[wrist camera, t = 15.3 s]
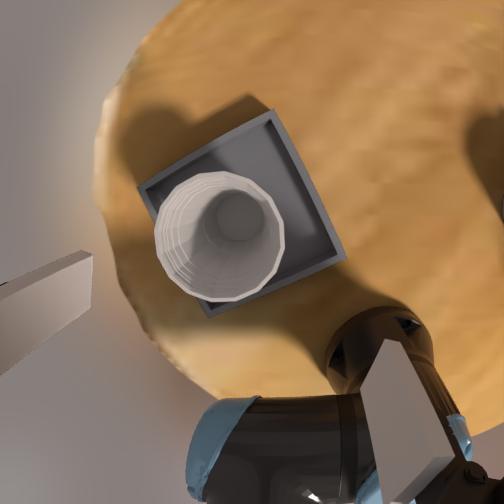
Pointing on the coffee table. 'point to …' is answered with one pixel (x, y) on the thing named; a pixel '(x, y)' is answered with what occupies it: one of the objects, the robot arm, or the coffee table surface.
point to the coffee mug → (503, 209)
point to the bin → (274, 184)
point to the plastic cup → (219, 236)
